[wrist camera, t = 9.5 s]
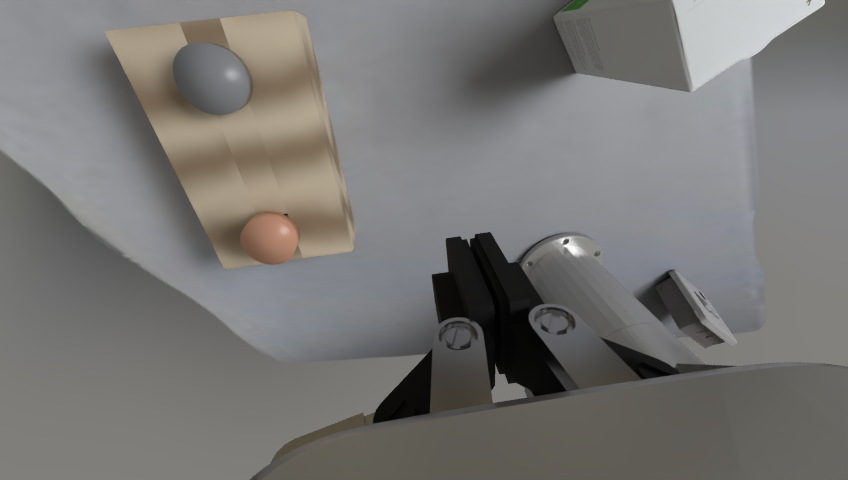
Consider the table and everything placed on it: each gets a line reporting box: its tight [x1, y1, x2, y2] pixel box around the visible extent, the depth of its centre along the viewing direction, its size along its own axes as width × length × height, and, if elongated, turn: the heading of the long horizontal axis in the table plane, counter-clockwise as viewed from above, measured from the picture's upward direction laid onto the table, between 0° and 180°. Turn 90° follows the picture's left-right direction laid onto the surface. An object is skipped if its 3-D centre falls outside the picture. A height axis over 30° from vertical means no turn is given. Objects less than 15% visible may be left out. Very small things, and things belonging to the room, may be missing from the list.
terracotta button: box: [240, 211, 300, 265], centre depth 34 cm, size 5×5×6 cm
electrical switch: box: [654, 270, 737, 348], centre depth 48 cm, size 9×5×9 cm, turn 54°
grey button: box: [173, 43, 253, 115], centre depth 28 cm, size 5×5×6 cm
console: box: [105, 10, 356, 269], centre depth 32 cm, size 22×14×5 cm, turn 6°
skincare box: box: [553, 0, 825, 92], centre depth 25 cm, size 8×7×16 cm
